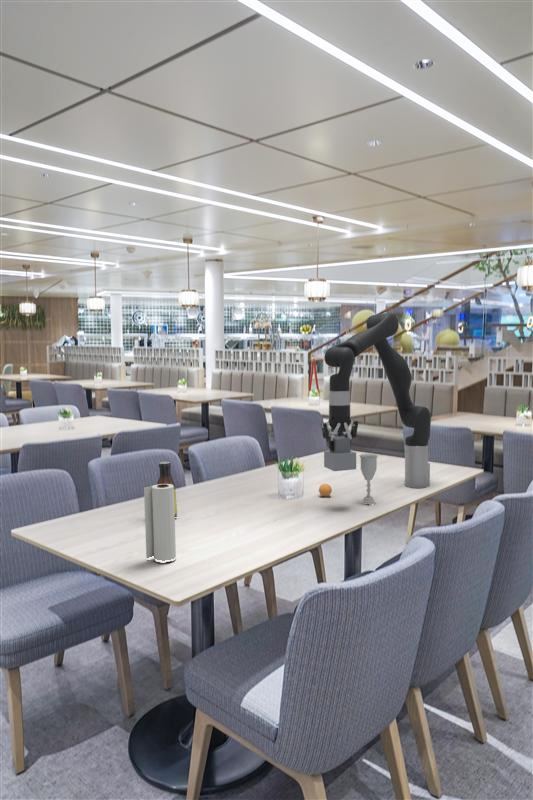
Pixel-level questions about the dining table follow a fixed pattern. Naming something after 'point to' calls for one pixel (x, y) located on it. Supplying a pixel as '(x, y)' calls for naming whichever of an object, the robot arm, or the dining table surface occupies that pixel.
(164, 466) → the sauce bottle
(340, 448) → the grey stepped block
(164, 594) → the dining table surface
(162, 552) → the paper towel roll
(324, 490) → the ball
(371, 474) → the chalice
